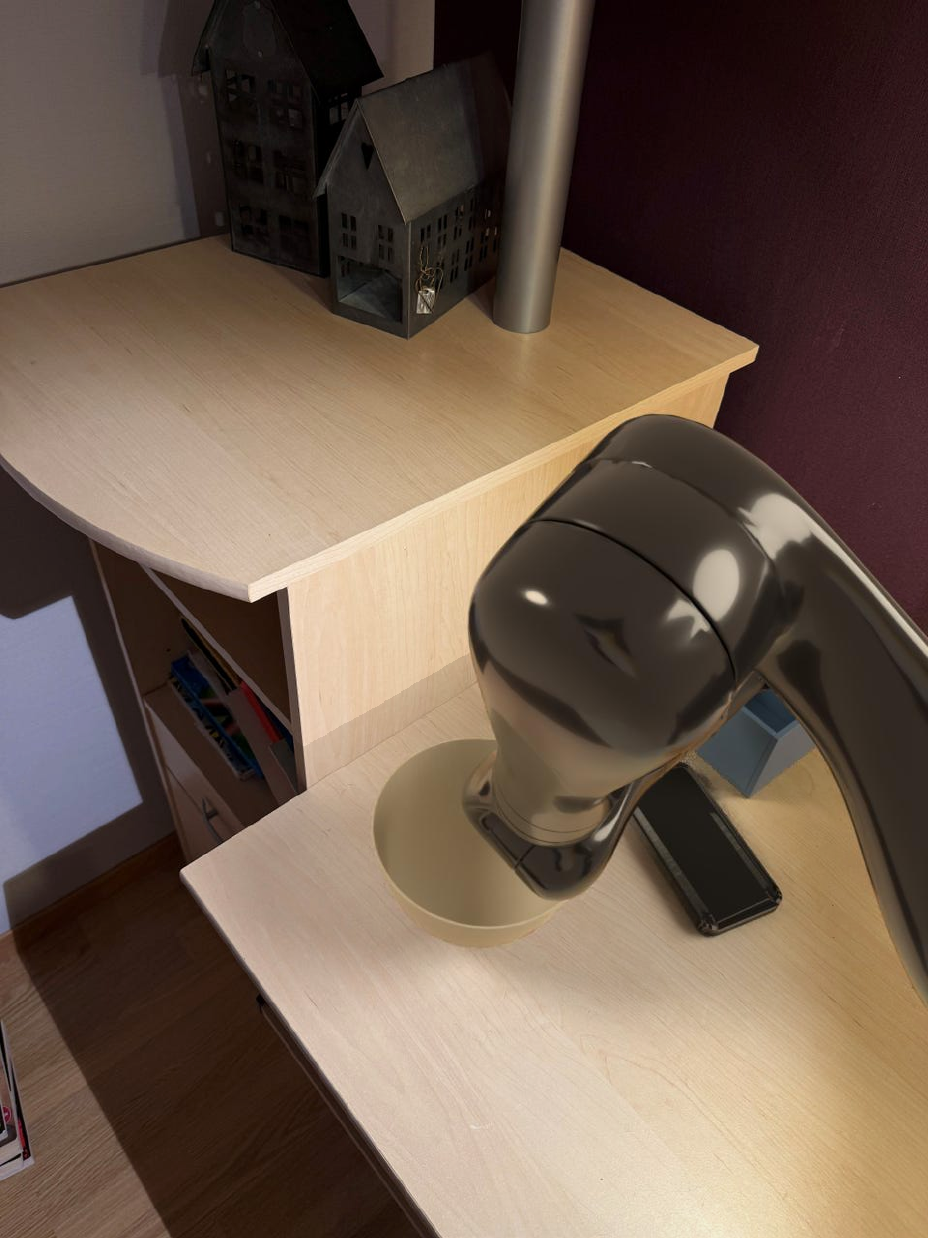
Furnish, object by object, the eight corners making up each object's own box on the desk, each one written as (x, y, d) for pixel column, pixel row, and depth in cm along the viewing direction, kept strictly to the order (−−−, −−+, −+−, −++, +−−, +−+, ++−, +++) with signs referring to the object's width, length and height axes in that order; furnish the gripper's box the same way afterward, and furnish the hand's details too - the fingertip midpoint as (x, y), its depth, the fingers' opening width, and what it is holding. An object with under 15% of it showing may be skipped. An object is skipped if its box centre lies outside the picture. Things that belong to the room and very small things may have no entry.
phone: (708, 934, 70) (612, 783, 80) (704, 941, 71) (609, 790, 81) (789, 900, 73) (686, 758, 82) (785, 907, 74) (683, 765, 83)
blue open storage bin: (816, 747, 86) (849, 688, 80) (748, 799, 81) (778, 740, 75) (710, 662, 93) (734, 602, 87) (642, 705, 88) (662, 645, 82)
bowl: (435, 1033, 65) (444, 972, 58) (336, 859, 74) (332, 788, 67) (610, 928, 71) (637, 862, 64) (499, 780, 81) (511, 708, 74)
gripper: (780, 717, 62) (890, 607, 72) (617, 607, 69) (737, 519, 78) (748, 781, 68) (854, 670, 77) (599, 673, 74) (713, 583, 84)
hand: (794, 594), depth 78 cm, fingers closed on bottle, 5 cm apart
